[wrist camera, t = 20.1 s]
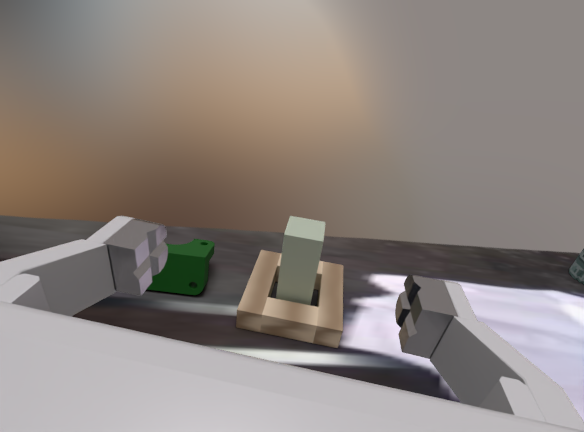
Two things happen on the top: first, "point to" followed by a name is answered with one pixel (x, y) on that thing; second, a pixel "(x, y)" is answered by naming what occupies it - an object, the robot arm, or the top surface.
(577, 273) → the can
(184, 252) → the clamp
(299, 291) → the peg
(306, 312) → the socket block
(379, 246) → the top surface
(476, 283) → the top surface
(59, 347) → the robot arm
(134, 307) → the top surface
